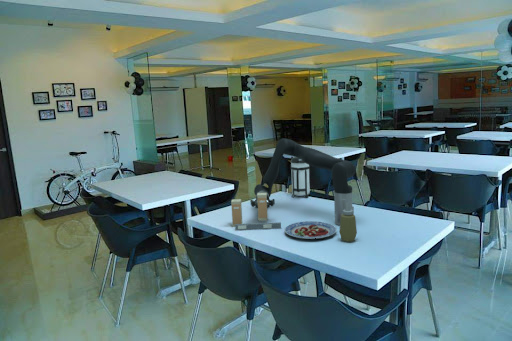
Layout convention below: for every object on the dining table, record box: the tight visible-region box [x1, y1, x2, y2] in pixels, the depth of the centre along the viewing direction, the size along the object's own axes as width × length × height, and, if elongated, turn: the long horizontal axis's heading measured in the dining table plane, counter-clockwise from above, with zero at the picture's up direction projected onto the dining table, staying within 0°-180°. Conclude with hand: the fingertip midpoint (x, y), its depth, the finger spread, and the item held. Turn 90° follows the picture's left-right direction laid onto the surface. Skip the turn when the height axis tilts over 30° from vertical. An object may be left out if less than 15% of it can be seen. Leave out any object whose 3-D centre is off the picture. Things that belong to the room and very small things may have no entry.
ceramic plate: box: [284, 220, 337, 240], centre depth 199 cm, size 26×26×3 cm
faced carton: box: [230, 198, 243, 228], centre depth 215 cm, size 5×5×14 cm
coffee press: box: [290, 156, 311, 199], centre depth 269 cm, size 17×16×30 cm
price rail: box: [234, 221, 282, 231], centre depth 208 cm, size 24×1×3 cm, turn 89°
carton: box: [257, 193, 269, 221], centre depth 213 cm, size 5×5×14 cm
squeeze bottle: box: [339, 203, 358, 243], centre depth 185 cm, size 8×8×18 cm
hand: (262, 206), depth 210 cm, fingers closed on carton, 5 cm apart
